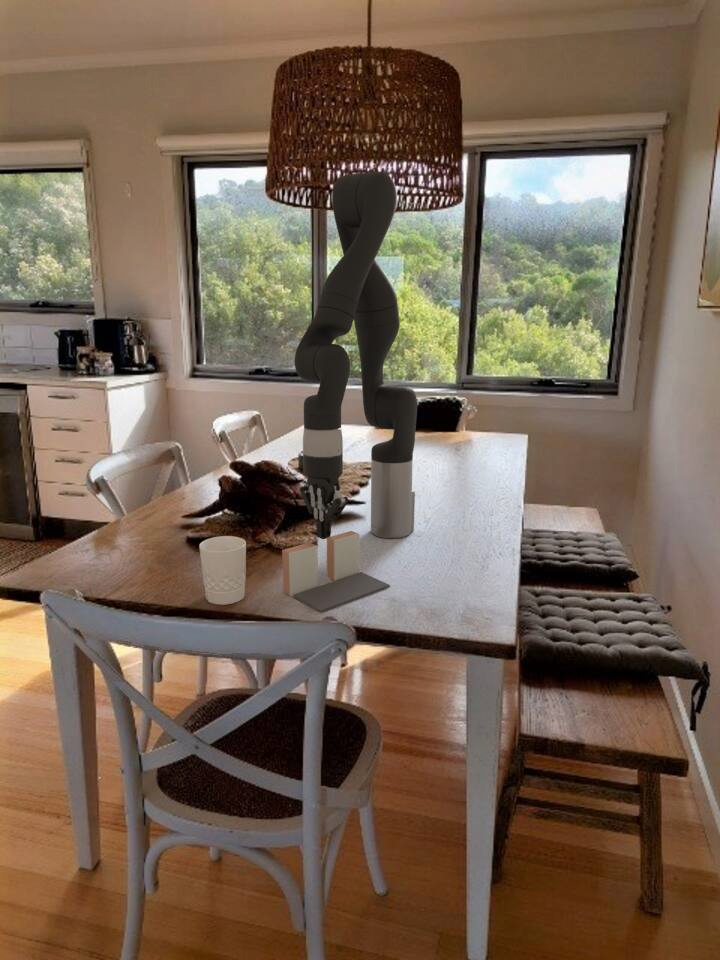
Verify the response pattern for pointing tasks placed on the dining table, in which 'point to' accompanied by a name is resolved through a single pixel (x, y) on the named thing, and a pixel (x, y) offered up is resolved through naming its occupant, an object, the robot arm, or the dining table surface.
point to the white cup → (223, 569)
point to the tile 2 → (342, 555)
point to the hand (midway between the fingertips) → (323, 537)
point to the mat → (340, 591)
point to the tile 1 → (300, 568)
